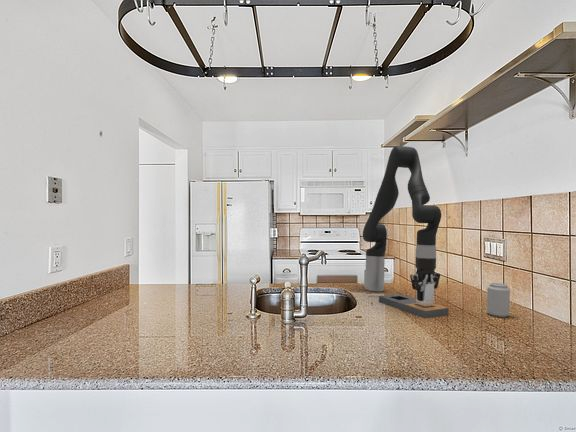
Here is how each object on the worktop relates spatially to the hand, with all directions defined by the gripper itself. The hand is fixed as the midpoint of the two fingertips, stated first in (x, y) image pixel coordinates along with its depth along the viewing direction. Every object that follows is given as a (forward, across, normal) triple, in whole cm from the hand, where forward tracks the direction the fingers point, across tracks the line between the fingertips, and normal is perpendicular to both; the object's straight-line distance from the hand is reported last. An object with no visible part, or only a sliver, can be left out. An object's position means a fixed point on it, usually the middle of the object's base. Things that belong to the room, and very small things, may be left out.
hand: (424, 300), depth 141 cm
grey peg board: (+5, 0, -7) cm, 8 cm away
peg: (+3, 0, 0) cm, 3 cm away
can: (+5, -24, +14) cm, 28 cm away
